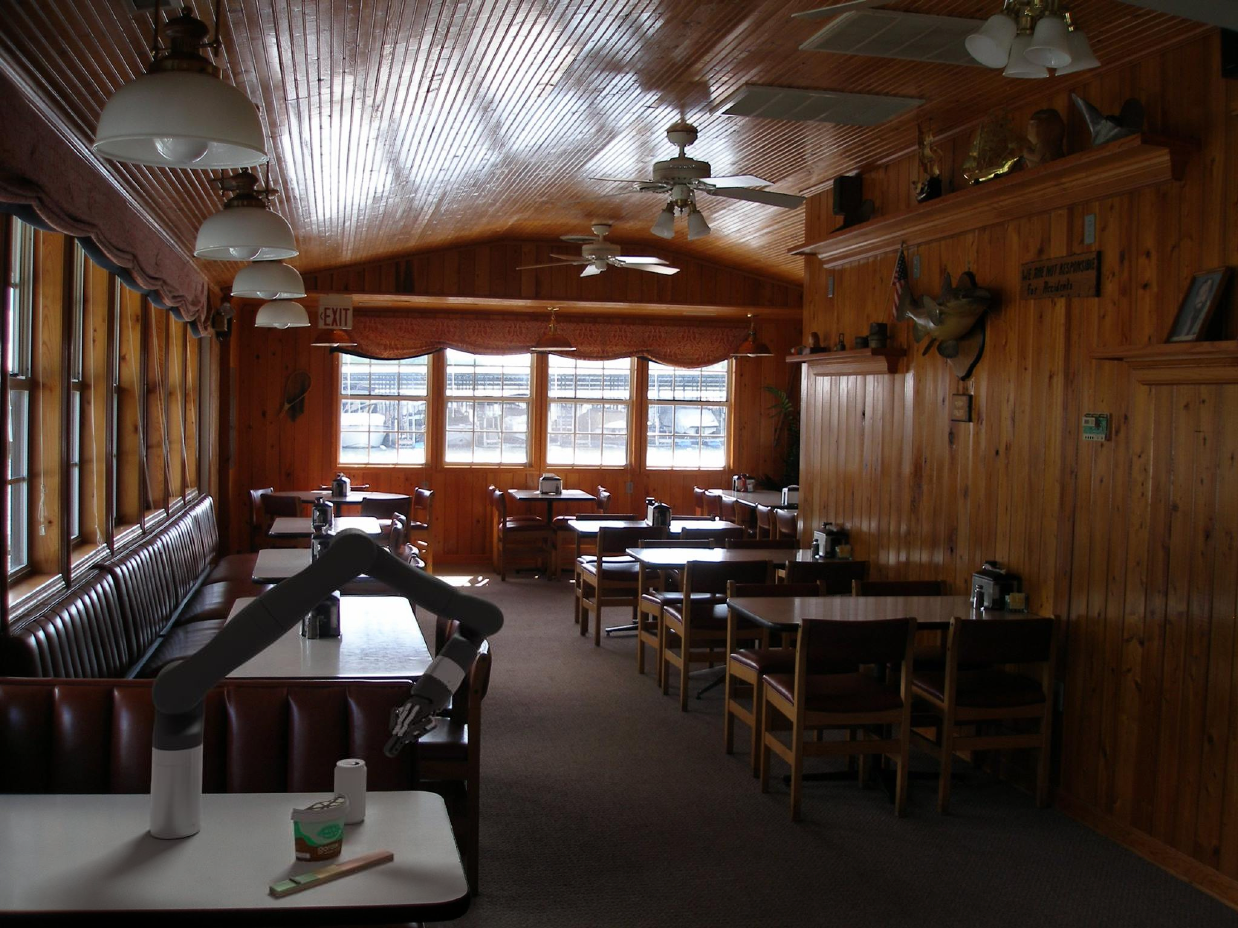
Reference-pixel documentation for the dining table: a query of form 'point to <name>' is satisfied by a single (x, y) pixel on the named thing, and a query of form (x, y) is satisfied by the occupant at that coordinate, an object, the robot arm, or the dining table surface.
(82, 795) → the dining table surface
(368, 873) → the dining table surface
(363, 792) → the beverage can
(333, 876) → the strip
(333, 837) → the food container
